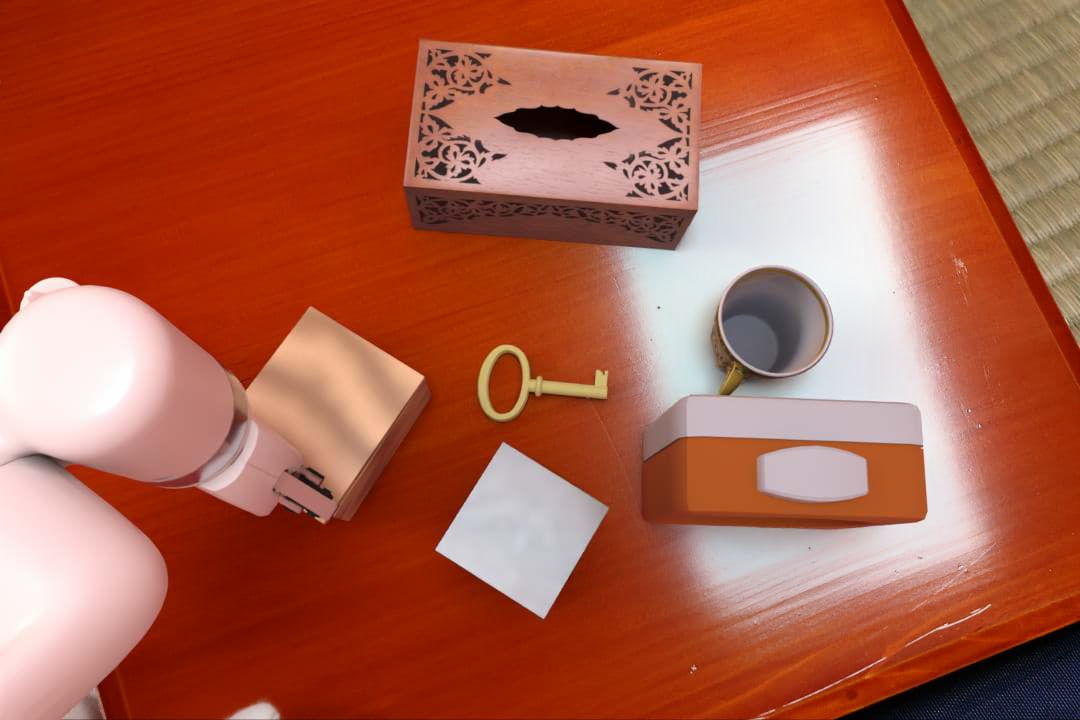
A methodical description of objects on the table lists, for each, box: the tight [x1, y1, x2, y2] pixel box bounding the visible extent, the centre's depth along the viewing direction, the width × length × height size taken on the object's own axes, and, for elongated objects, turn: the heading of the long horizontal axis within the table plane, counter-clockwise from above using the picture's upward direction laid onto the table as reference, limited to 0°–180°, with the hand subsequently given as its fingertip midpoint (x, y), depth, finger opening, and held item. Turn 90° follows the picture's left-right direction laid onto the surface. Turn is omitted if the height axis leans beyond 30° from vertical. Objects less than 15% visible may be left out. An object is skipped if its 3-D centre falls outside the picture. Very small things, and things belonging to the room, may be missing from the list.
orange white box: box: [642, 394, 929, 531], centre depth 71 cm, size 18×9×21 cm, turn 88°
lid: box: [245, 305, 426, 525], centre depth 69 cm, size 14×12×5 cm
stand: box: [434, 440, 611, 621], centre depth 66 cm, size 8×8×25 cm
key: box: [477, 344, 609, 423], centre depth 81 cm, size 7×12×2 cm, turn 102°
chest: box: [332, 379, 433, 522], centre depth 76 cm, size 14×12×8 cm
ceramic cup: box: [709, 264, 834, 396], centre depth 78 cm, size 13×10×10 cm
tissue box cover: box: [402, 37, 703, 251], centre depth 82 cm, size 26×14×10 cm, turn 86°
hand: (254, 458), depth 63 cm, fingers open, 9 cm apart
